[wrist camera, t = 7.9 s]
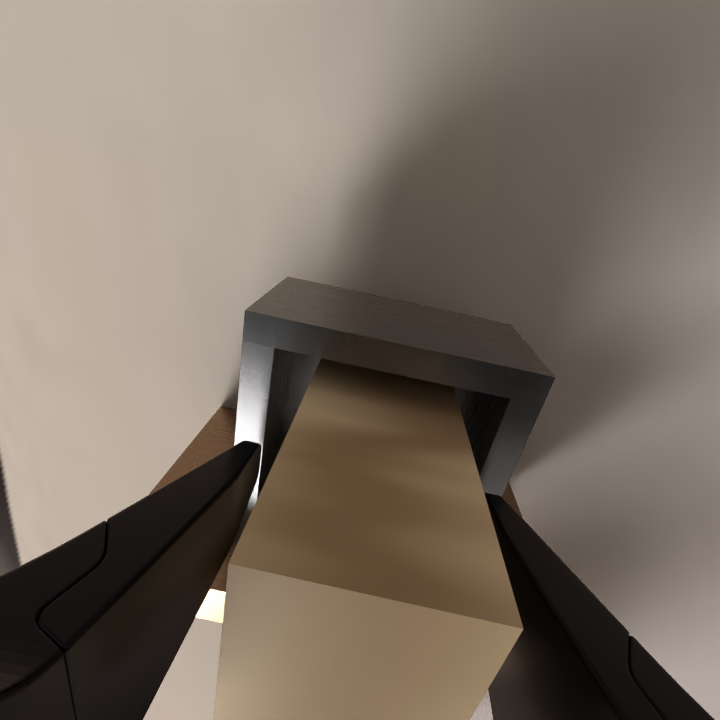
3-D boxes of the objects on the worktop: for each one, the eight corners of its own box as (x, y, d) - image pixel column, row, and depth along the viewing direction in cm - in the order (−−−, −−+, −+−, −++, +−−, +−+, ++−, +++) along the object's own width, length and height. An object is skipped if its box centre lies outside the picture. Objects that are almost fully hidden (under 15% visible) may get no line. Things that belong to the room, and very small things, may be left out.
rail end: (450, 375, 11) (523, 629, 5) (417, 474, 13) (438, 772, 6) (325, 348, 11) (228, 563, 5) (307, 450, 13) (212, 722, 6)
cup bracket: (567, 318, 14) (740, 447, 7) (459, 569, 19) (495, 787, 12) (230, 245, 14) (62, 301, 7) (214, 516, 19) (109, 703, 12)
